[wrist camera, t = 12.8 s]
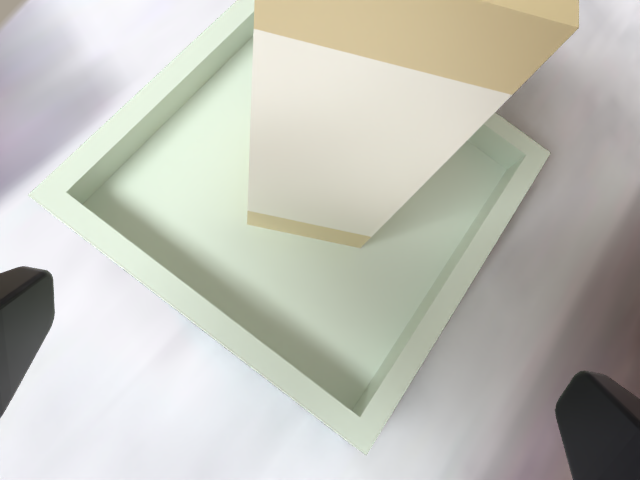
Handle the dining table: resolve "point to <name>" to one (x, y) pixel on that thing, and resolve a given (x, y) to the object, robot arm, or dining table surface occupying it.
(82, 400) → the dining table surface
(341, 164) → the white tall block
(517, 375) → the dining table surface
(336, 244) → the tray
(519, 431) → the dining table surface
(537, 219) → the dining table surface
